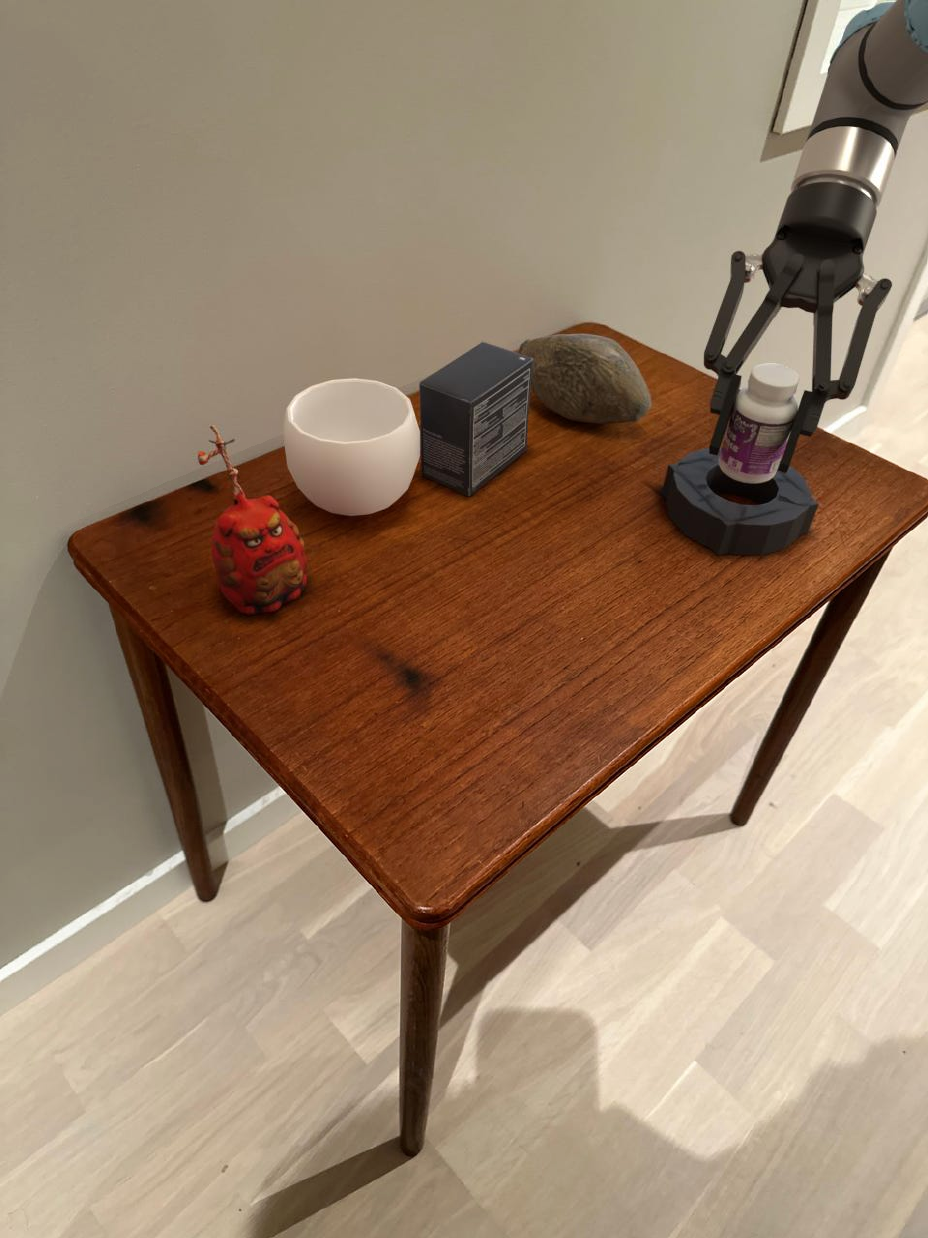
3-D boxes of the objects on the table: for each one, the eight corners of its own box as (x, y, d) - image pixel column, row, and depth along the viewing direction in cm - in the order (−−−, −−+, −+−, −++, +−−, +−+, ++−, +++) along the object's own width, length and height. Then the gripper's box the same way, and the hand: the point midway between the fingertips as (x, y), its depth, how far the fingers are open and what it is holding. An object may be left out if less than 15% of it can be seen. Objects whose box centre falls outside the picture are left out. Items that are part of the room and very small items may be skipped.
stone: (665, 419, 95) (680, 352, 90) (624, 453, 90) (637, 384, 85) (539, 369, 103) (545, 304, 97) (494, 398, 98) (498, 331, 92)
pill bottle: (707, 456, 81) (732, 361, 75) (758, 449, 82) (787, 355, 76) (733, 489, 78) (762, 392, 71) (786, 482, 79) (820, 386, 72)
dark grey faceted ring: (827, 538, 81) (839, 508, 79) (713, 567, 78) (722, 537, 75) (749, 466, 89) (758, 437, 87) (643, 489, 86) (649, 459, 83)
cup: (439, 521, 81) (440, 431, 74) (311, 551, 78) (300, 459, 71) (395, 452, 89) (392, 365, 83) (277, 476, 86) (264, 387, 79)
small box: (477, 429, 93) (481, 337, 86) (528, 451, 90) (537, 357, 83) (416, 474, 87) (415, 378, 79) (469, 498, 84) (473, 402, 77)
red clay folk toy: (253, 632, 70) (223, 478, 60) (201, 591, 73) (164, 438, 63) (325, 587, 74) (309, 436, 64) (273, 550, 77) (249, 400, 67)
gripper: (934, 242, 76) (850, 495, 76) (725, 205, 81) (647, 444, 81) (959, 196, 69) (865, 477, 69) (727, 160, 74) (642, 422, 74)
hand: (748, 458), depth 75 cm, fingers closed on pill bottle, 5 cm apart
